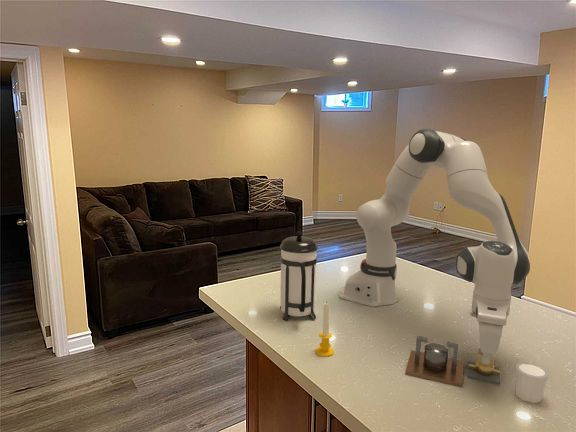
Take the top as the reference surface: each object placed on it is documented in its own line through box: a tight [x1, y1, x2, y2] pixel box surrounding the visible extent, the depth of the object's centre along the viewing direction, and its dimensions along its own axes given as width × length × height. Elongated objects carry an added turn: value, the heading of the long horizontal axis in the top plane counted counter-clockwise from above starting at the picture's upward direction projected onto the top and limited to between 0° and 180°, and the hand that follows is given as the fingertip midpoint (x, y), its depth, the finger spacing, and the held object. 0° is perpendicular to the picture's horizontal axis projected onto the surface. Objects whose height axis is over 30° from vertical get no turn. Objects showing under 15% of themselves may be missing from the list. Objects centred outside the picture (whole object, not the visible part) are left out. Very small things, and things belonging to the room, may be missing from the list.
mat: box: [466, 360, 501, 386], centre depth 113 cm, size 8×8×1 cm
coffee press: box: [279, 230, 319, 322], centre depth 144 cm, size 17×16×30 cm
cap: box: [469, 347, 501, 377], centre depth 112 cm, size 8×4×6 cm, turn 65°
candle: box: [315, 301, 335, 358], centre depth 121 cm, size 5×5×16 cm
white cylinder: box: [515, 362, 549, 404], centre depth 103 cm, size 7×7×7 cm
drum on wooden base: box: [405, 335, 464, 388], centre depth 114 cm, size 14×12×8 cm
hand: (484, 353), depth 112 cm, fingers open, 8 cm apart
